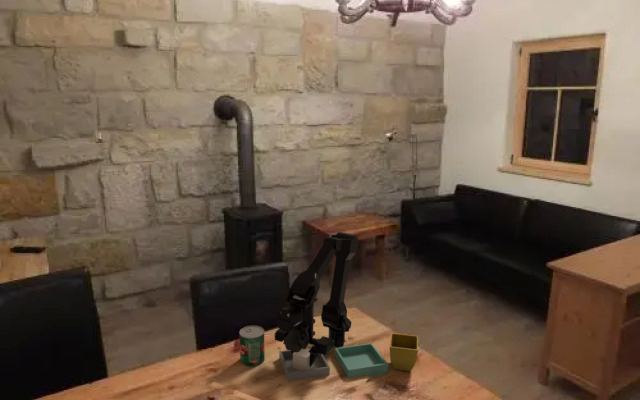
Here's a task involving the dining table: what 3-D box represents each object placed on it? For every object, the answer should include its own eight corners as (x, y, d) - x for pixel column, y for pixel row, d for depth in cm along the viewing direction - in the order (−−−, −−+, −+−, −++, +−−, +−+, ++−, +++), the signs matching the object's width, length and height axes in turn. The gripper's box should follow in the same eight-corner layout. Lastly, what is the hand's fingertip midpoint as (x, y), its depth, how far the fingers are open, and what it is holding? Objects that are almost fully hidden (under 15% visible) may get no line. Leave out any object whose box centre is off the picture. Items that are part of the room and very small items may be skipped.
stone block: (292, 367, 147) (292, 353, 146) (300, 360, 152) (301, 346, 151) (306, 372, 145) (306, 357, 144) (314, 364, 149) (314, 350, 148)
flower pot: (416, 376, 146) (418, 349, 144) (388, 372, 147) (389, 346, 146) (416, 360, 154) (418, 335, 152) (389, 357, 156) (391, 332, 154)
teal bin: (334, 357, 155) (334, 348, 154) (371, 352, 159) (371, 342, 158) (348, 380, 143) (348, 370, 142) (387, 373, 147) (387, 363, 146)
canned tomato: (269, 362, 152) (269, 331, 150) (250, 372, 146) (250, 340, 144) (254, 353, 157) (253, 323, 155) (235, 362, 152) (234, 331, 149)
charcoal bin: (279, 361, 153) (279, 351, 152) (317, 355, 156) (317, 345, 156) (288, 384, 141) (288, 373, 140) (329, 377, 144) (329, 367, 144)
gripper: (264, 322, 142) (264, 368, 146) (318, 337, 134) (317, 386, 137) (283, 307, 152) (284, 351, 155) (335, 321, 143) (334, 367, 147)
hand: (303, 363), depth 148 cm, fingers closed on stone block, 5 cm apart
